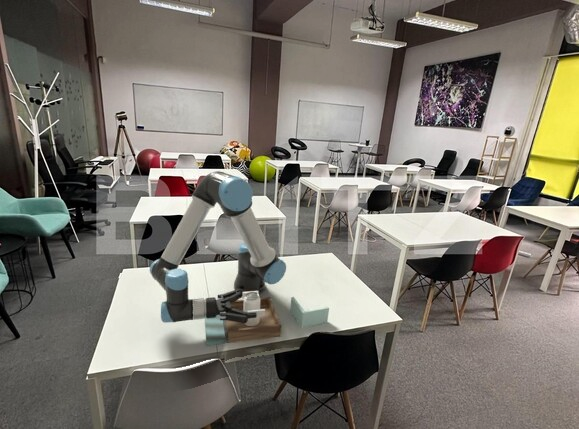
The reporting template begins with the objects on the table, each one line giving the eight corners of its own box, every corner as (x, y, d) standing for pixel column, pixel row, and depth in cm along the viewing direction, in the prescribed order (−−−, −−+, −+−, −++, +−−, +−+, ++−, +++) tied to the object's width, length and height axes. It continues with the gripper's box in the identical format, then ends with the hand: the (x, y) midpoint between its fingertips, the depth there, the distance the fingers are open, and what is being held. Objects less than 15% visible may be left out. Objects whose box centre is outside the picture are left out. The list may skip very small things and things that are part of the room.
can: (244, 316, 131) (245, 290, 128) (260, 317, 131) (261, 291, 127) (242, 326, 125) (242, 299, 121) (258, 327, 125) (259, 300, 121)
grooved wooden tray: (204, 313, 134) (204, 303, 133) (269, 306, 142) (270, 297, 141) (206, 345, 116) (206, 334, 115) (280, 336, 124) (281, 325, 123)
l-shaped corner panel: (327, 323, 135) (329, 307, 133) (301, 328, 130) (303, 312, 128) (314, 307, 146) (315, 293, 143) (290, 312, 141) (291, 297, 139)
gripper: (204, 299, 133) (255, 294, 139) (206, 338, 110) (267, 330, 116) (204, 283, 130) (256, 279, 136) (206, 319, 108) (268, 313, 114)
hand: (261, 302), depth 126 cm, fingers open, 12 cm apart
